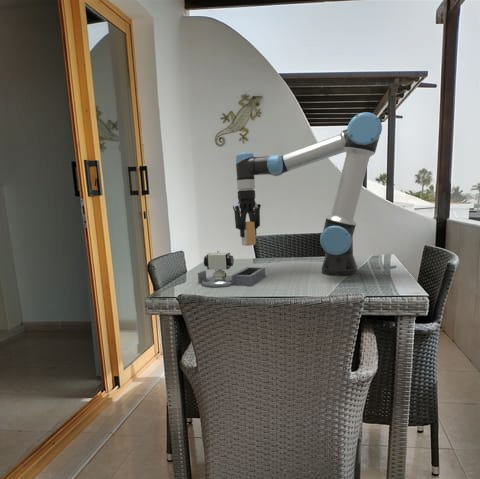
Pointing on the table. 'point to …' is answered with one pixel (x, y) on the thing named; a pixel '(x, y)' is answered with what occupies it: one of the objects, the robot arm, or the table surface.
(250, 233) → the tan rectangular block
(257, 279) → the grey rectangular frame
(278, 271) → the table surface
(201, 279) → the grey disc
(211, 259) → the pneumatic valve
